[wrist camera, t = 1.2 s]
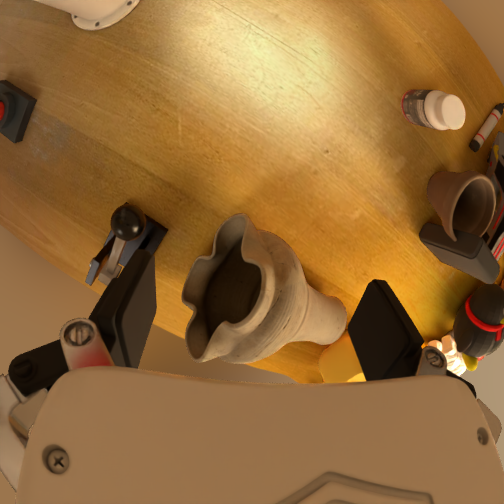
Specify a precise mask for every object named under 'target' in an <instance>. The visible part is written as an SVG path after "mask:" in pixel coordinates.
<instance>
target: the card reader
mask: <svg viewBox="0 0 504 504" xmlns="http://www.w3.org/2000/svg"><path fill="white" fill-rule="evenodd" d="M453 232H454V235H455V237H456V238H457V241H455V242H454V241H453V240H452V238H450V237H449V235H448V234H447V233H446V232H445V230H444V227H443V226H440V225H436V224H432V223H426V224H425V225H424V226H423V228H422V229H421V231H420V233H419V237H420V240H421V242H422V243H423V244H424V245H425V246H426V247H427V248H428V249H429V250H430V251H431V252H432V253H433V254H434V255H435V256H436V257H437V258H438V259H439V260H440V261H441V262H443V263H445V264H447V265H450V266H452V267H454V268H456V269H458V270H460V271H462V272H465V273H467V274H469V275H471V276H473V277H475V278H477V279H479V280H481V281H483V282H485V283H487V284H493V283H494V282H495V280H496V278H497V276H498V274H499V272H500V270H499V268H500V267H499V264H498V262H497V261H496V259H495V257H494V256H493V254H492V252H491V251H490V249H489V247H488V246H487V244H486V243H485V241H484V240H483V238H481V237H479V236H478V235H474V234H471V233H467V232H464V231H460V230H456V229H453Z"/></svg>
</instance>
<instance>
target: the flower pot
mask: <svg viewBox="0 0 504 504" xmlns="http://www.w3.org/2000/svg"><path fill="white" fill-rule="evenodd" d="M427 198H428V200H429V202H430V204H431V205H432V207H433V208H434V210H435V211H436V213H437V214H438V215H439V217H440V218H441V219H442V224H443V227H444V230H445V232H446V233H447V234H448V235H449V237H450V238H452V240H453V241H454V242H455V241H457V238H456V237H455V235H454V232H453V229H456V230H460V231H464V232H467V233H471V234H474V235H478V236H479V237H482V235H483V234H484V233H485V232H486V230H487V229H488V227H489V225H490V223H491V221H492V218H493V215H494V211H495V205H496V195H495V189H494V186H493V184H492V182H491V180H490V179H489V178H488V177H487V176H485V175H483V174H481V173H479V172H476V171H466V172H463V173H457V172H447V171H441V172H437V173H436V174H434V175H433V176H432V177H431V179H430V181H429V183H428V186H427Z"/></svg>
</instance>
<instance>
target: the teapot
mask: <svg viewBox="0 0 504 504" xmlns="http://www.w3.org/2000/svg"><path fill="white" fill-rule="evenodd" d="M318 369H319V371H320V374H321V376H322V378H323V382H324V383H346V382H362V381H366V379H365V377H364V374H363V371H362V368H361V366H360V363H359V360H358V357H357V355H356V352H355V349H354V347H353V344H352V342H351V339H350V336H349V334H348V330H347V331H345V332H344V333H343V334H342V337H340V338H339V339H337V340H336V341H335V342H333V343H332V344H331V345H330V346H329V347H328V348H326V349H324V350H323V352H322V354H321V356H320V358H319V361H318Z"/></svg>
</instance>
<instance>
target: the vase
mask: <svg viewBox="0 0 504 504" xmlns="http://www.w3.org/2000/svg"><path fill="white" fill-rule="evenodd" d="M182 302H183V303H184V304H185V305H186V306H188V307H189V308H190V309H192V310H193V315H192V317H191V319H190V321H189V323H188V325H187V328H186V332H185V341H186V347H187V350H188V353H189V355H190V356H191V358H192V359H193V360H194V361H196V362H204V361H207V360H210V359H213V358H216V357H218V358H220V359H221V360H223V361H226V362H229V363H235V364H243V363H251V362H255V361H258V360H261V359H263V358H266V357H268V356H270V355H272V354H273V353H275V352H276V351H278V350H279V349H280V348H281V347H282V346H284V345H285V344H287V343H288V342H294V341H311V342H314V343H317V344H320V345H326V344H331V343H333V342H335V341H336V340H337V339H338V338H340V337H341V335H342V334H343V332H344V330H345V327H346V323H347V312H346V308H345V307H344V305H343V303H342V302H341V301H340V300H339V299H338V298H337V297H333V296H327V295H325V294H322V293H320V292H318V291H317V290H315V289H314V288H312V287H311V286H309V285H308V284H307V281H306V279H305V277H304V273H303V269H302V267H301V264H300V262H299V260H298V258H297V256H296V254H295V253H294V251H293V250H292V248H291V247H290V246H289V245H288V244H287V243H286V242H285V241H284V240H282V239H281V238H280V237H278V236H277V235H275V234H273V233H271V232H268V231H263V230H256V228H255V227H254V225H253V223H252V222H251V220H250V218H249V217H248V216H247V215H246V214H244V213H239V214H235V215H233V216H231V217H229V218H228V219H227V220H225V221H224V222H223V223H222V224H221V226H220V227H219V228H218V230H217V232H216V234H215V237H214V243H213V252H212V254H211V256H204V255H200V256H198V257H197V258H196V260H195V261H194V263H193V265H192V267H191V269H190V271H189V274H188V276H187V279H186V281H185V284H184V288H183V291H182Z"/></svg>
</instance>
